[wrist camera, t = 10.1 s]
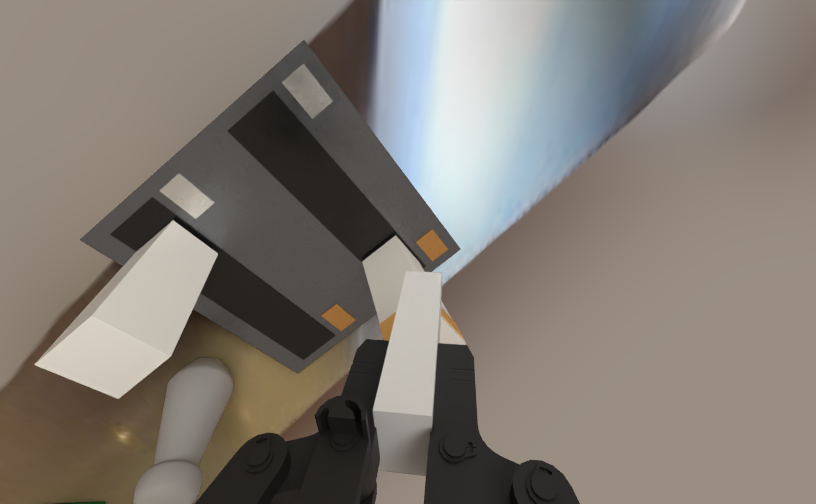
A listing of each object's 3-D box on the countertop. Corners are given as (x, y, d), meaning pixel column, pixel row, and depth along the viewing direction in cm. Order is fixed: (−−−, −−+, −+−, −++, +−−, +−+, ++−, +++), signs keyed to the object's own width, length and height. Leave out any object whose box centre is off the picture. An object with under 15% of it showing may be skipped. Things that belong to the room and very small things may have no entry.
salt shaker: (213, 397, 38) (175, 534, 27) (162, 377, 35) (96, 521, 24) (248, 365, 37) (224, 493, 26) (199, 341, 34) (147, 475, 23)
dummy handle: (173, 220, 26) (91, 315, 16) (218, 253, 28) (171, 356, 18) (135, 252, 26) (34, 364, 16) (183, 283, 28) (118, 398, 18)
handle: (395, 234, 31) (436, 311, 21) (420, 262, 33) (467, 344, 24) (361, 261, 31) (386, 349, 22) (387, 287, 34) (420, 377, 24)
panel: (303, 41, 24) (303, 39, 23) (453, 240, 36) (460, 249, 34) (93, 228, 27) (78, 240, 25) (298, 359, 38) (297, 374, 36)
